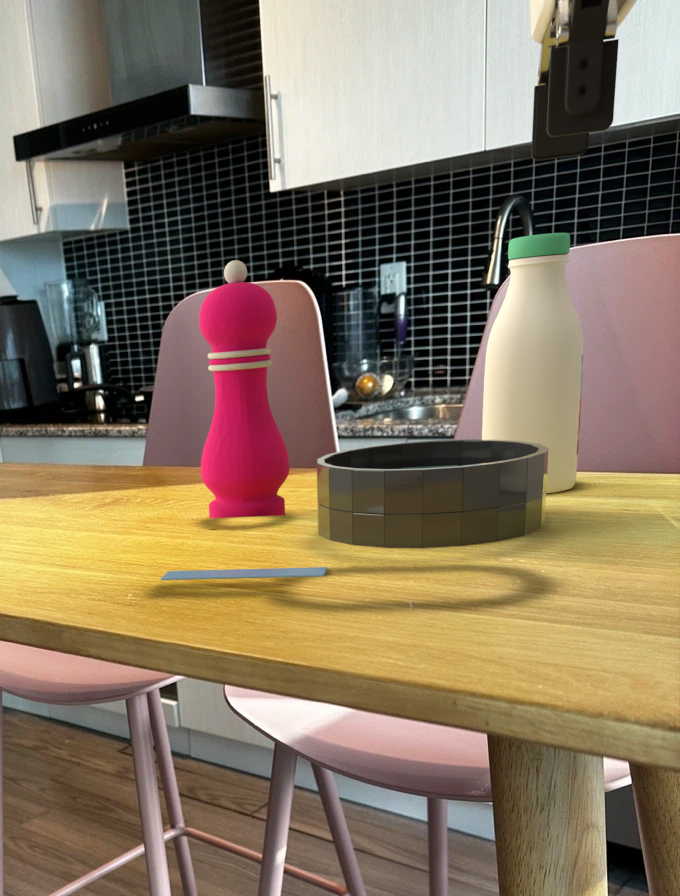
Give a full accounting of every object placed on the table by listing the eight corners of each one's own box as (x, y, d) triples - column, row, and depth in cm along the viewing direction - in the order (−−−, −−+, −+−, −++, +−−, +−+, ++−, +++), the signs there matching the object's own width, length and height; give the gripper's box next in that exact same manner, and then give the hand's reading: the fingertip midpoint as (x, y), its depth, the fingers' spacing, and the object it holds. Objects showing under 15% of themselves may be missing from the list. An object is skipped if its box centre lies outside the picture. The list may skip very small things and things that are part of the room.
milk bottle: (576, 495, 84) (593, 226, 77) (477, 498, 87) (485, 238, 80) (575, 480, 91) (591, 232, 84) (483, 483, 93) (491, 243, 86)
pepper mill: (232, 513, 90) (219, 265, 83) (306, 515, 86) (299, 255, 79) (187, 529, 85) (169, 265, 78) (264, 532, 81) (252, 254, 74)
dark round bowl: (476, 512, 81) (479, 434, 79) (588, 546, 67) (595, 452, 65) (291, 535, 79) (288, 454, 77) (365, 574, 65) (364, 478, 62)
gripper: (710, -346, 44) (671, 110, 50) (639, -176, 59) (616, 157, 65) (524, -301, 46) (508, 132, 52) (501, -148, 61) (491, 172, 67)
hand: (568, 146), depth 59 cm, fingers open, 9 cm apart
